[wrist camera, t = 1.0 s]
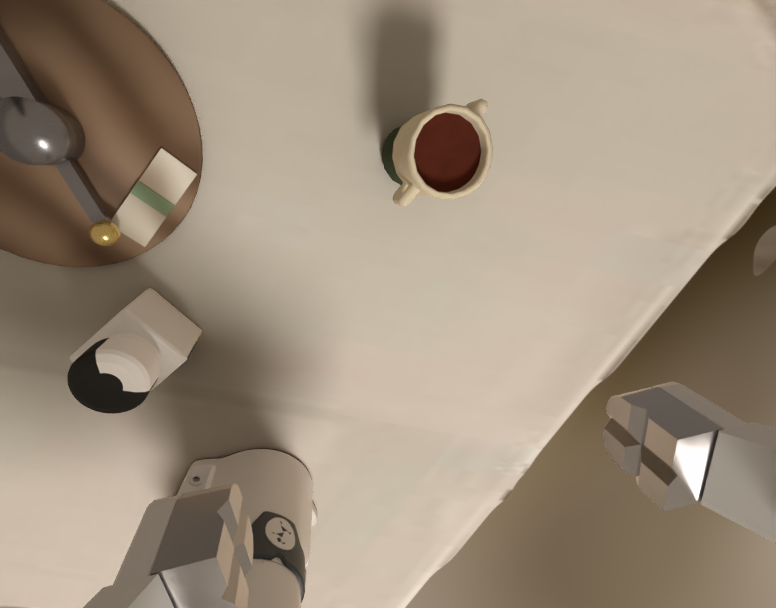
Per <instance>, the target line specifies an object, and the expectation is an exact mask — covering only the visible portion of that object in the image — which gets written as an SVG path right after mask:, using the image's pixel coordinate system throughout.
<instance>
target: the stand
mask: <svg viewBox="0 0 776 608" xmlns="http://www.w3.org/2000/svg"><path fill="white" fill-rule="evenodd" d="M0 26H1V27H2V29H3V31H4V32H5V34H6V35H7V37H8V39H9V40H10V42H11V44H12V45H13V47H14V48H15V50H16V52H17V53H18V55H19V57H20V58H21V60H22V61H23V63H24V65H25V66H26V68H27V70H28V71H29V73H30V74H31V76H32V78H33V79H34V81H35V83H36V84H37V86H38V87H39V89H40V91H41V92H42V94H43V96H44V97H45V99H46V100H47V102H48V104H52V105H56V106H59V107H61V108H63V109H65V110H66V111H68V112H69V113H70V114H72V115H73V116H74V117H75V118H76V119H77V121H78V122H79V123H80V125H81V127H82V129H83V131H84V135H85V149H84V152H83V153H82V155H81V156H80V158H78V159H77V160H76V161H75V163H76V165H77V166H78V168H79V169H80V171H81V173H82V174H83V176H84V177H85V179H86V181H87V182H88V184H89V185H90V187H91V189H92V190H93V192H94V193H95V195H96V197H97V198H98V200H99V201H100V203H101V205H102V206H103V208H104V209H105V211H106V213H107V214H108V216H109V217H110V219H111V221H112V222H113V223H114V224H115V225H117V227H118V228H119V230H120V234H121V235H120V239H119V241H118V242H117V243H116V244H114V245H112V246H101V245H98V244H96V243H95V242H93V241H92V239H91V238H90V236H89V228H90V226H91V225H92V224H93V223H92V222H91V220H90V219H89V217H88V216H87V214H86V212H85V211H84V209H83V208H82V206H81V205H80V203H79V202H78V200H77V198H76V197H75V195H74V194H73V192H72V191H71V189H70V188H69V186H68V184H67V183H66V181H65V180H64V178H63V177H62V175H61V174H60V172H59V171H58V169H57V167H56V166H55V165H27V164H23V163H20V162H17V161H15V160H13V159H11V158H9V157H8V156H6V155H5V154H3V153H2V152H1V151H0V248H1V249H3V250H5V251H8V252H11V253H13V254H16V255H18V256H21V257H24V258H27V259H31V260H35V261H38V262H42V263H47V264H53V265H59V266H72V267H90V266H102V265H107V264H113V263H118V262H121V261H124V260H127V259H130V258H133V257H135V256H137V255H139V254H142V253H144V252H146V251H148V250H149V249H151V248H152V247H154V246H156V245H157V244H159V243H160V242H162V241H163V240H164V239H165V238H166V237H168V236H169V235H170V234H171V233H172V232H173V231H174V230H175V229H176V228H177V226H178V225H179V224H180V223H181V222H182V221H183V219H184V217H185V216H186V214H187V213H188V211H189V209H190V208H191V206H192V203H193V201H194V199H195V196H196V194H197V190H198V187H199V183H200V179H201V171H202V162H203V158H202V140H201V134H200V128H199V124H198V120H197V117H196V113H195V110H194V107H193V105H192V102H191V100H190V97H189V95H188V93H187V90H186V88H185V87H184V85H183V83H182V81H181V79H180V78H179V76H178V74H177V72H176V71H175V69H174V68H173V67H172V65H171V64H170V62H169V61H168V60H167V58H166V57H165V55H164V54H163V53H162V52H161V51H160V50H159V48H158V47H157V46H156V45H155V44H154V43H153V42H152V40H151V39H150V38H149V37H148V36H147V35H145V34H144V33H143V32H142V31H141V30H140V29H139V28H138V27H137V26H136V25H135V24H134V23H132V22H131V21H130V20H129V19H128V18H126V17H125V16H124V15H122V14H121V13H120V12H118V11H117V10H116V9H114V8H113V7H112V6H110V5H108V4H107V3H105V2H103V1H102V0H0ZM0 99H2V98H1V97H0Z"/></svg>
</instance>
